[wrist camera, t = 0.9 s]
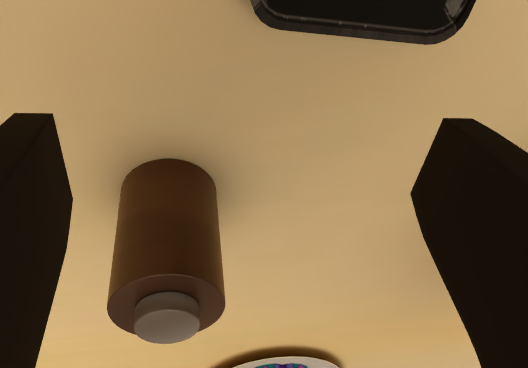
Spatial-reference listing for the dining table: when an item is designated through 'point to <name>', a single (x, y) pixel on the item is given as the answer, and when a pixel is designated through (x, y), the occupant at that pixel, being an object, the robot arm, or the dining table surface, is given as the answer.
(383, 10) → the phone
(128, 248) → the salt shaker
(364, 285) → the dining table surface
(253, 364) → the pudding
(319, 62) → the dining table surface
